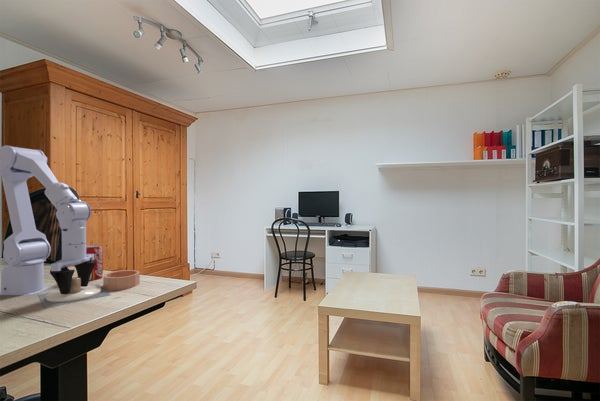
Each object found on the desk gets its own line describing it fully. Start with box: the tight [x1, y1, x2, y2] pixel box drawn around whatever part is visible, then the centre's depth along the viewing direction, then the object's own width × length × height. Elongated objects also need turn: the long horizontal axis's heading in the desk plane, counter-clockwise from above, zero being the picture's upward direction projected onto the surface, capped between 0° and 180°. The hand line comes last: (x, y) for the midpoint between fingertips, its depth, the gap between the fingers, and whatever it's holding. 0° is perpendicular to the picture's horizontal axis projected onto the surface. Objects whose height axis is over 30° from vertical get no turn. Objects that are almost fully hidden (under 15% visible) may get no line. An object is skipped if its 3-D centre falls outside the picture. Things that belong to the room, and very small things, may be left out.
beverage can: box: [86, 244, 104, 281], centre depth 107 cm, size 6×6×12 cm
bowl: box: [102, 269, 141, 291], centre depth 99 cm, size 10×10×4 cm
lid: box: [46, 276, 102, 303], centre depth 89 cm, size 13×13×5 cm
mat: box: [38, 283, 112, 309], centre depth 89 cm, size 15×15×1 cm
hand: (74, 290), depth 89 cm, fingers open, 7 cm apart
